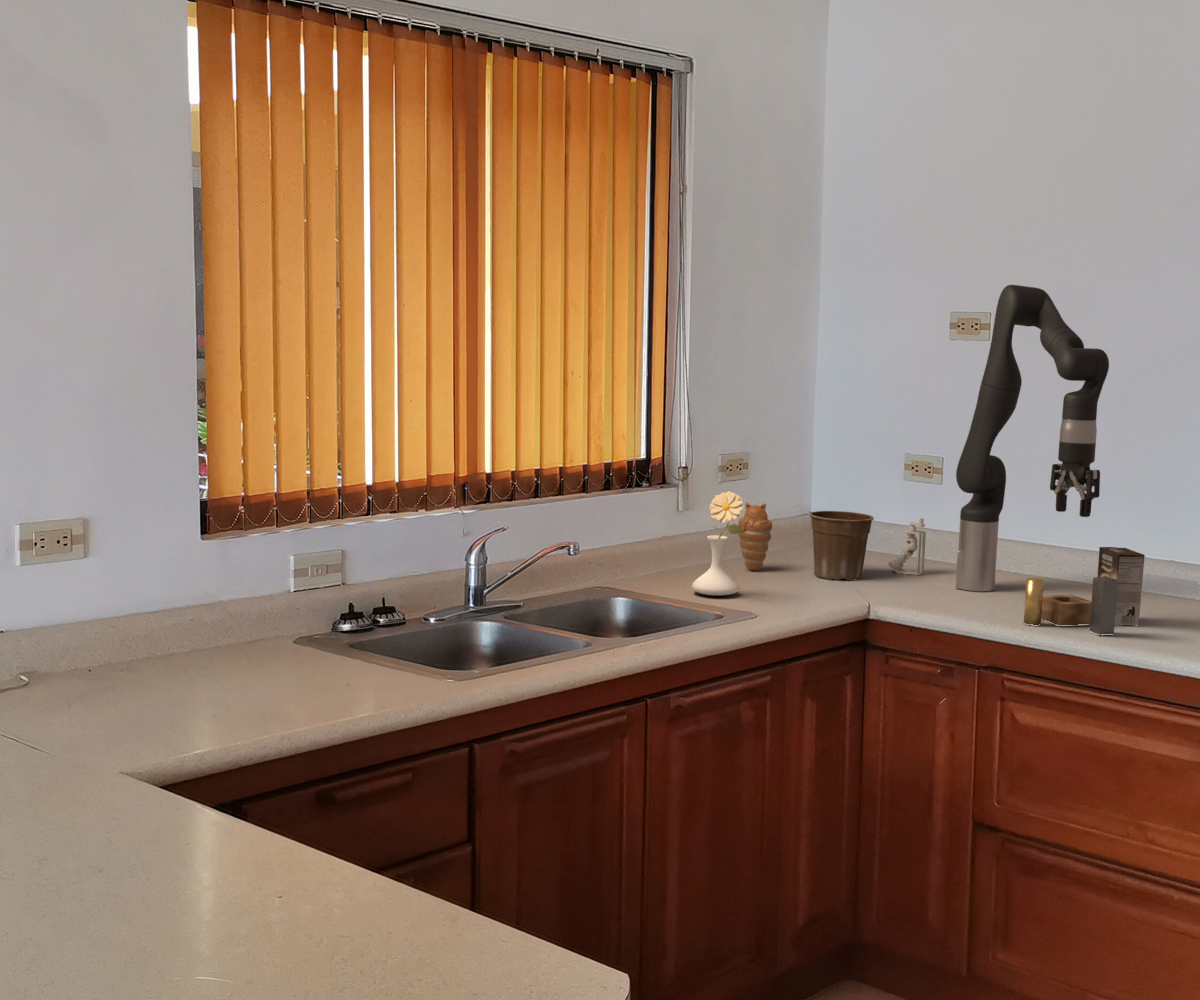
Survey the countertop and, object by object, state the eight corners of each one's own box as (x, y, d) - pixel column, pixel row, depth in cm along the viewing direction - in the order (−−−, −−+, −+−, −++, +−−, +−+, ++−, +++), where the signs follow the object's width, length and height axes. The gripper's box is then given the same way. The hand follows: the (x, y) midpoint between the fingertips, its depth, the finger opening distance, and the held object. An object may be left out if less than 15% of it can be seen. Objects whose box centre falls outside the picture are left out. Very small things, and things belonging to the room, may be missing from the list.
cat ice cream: (735, 572, 343) (737, 503, 340) (738, 567, 350) (741, 500, 348) (769, 574, 341) (772, 505, 338) (772, 569, 348) (774, 501, 346)
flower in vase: (681, 593, 313) (684, 489, 310) (711, 587, 321) (714, 486, 318) (725, 602, 304) (729, 495, 301) (754, 595, 313) (758, 491, 309)
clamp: (892, 569, 352) (895, 514, 350) (926, 574, 347) (929, 517, 345) (885, 571, 349) (888, 515, 347) (919, 576, 343) (923, 519, 341)
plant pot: (880, 575, 342) (883, 514, 340) (856, 585, 329) (860, 521, 327) (821, 568, 351) (824, 508, 349) (796, 577, 338) (799, 515, 335)
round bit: (1023, 625, 287) (1026, 580, 286) (1023, 622, 291) (1026, 577, 289) (1041, 626, 286) (1044, 581, 285) (1040, 623, 290) (1043, 578, 288)
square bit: (1099, 636, 278) (1103, 580, 277) (1089, 632, 282) (1093, 577, 280) (1113, 635, 279) (1117, 580, 278) (1103, 631, 283) (1107, 576, 281)
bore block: (1059, 626, 287) (1061, 604, 286) (1035, 617, 295) (1036, 596, 294) (1095, 625, 289) (1096, 602, 288) (1070, 616, 298) (1071, 594, 297)
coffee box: (1093, 616, 298) (1098, 546, 296) (1120, 617, 298) (1125, 546, 296) (1111, 626, 289) (1117, 553, 287) (1140, 626, 289) (1145, 553, 287)
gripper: (1113, 443, 281) (1107, 518, 283) (1072, 437, 295) (1067, 509, 297) (1083, 443, 279) (1077, 519, 281) (1043, 437, 293) (1038, 509, 295)
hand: (1072, 514), depth 289 cm, fingers open, 8 cm apart
